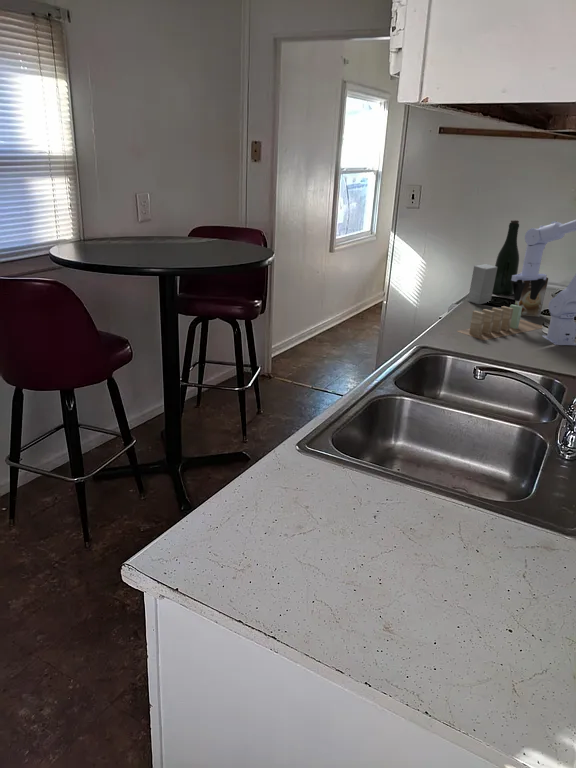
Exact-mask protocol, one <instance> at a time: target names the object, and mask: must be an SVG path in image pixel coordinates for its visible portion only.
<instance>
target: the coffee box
mask: <svg viewBox="0 0 576 768" xmlns="http://www.w3.org/2000/svg"><path fill="white" fill-rule="evenodd" d="M543 281H546V284H545V285H544V286H543V287H542V289H541V290H540V292H539V293H538V295H537V298H536V300H532V299H530V293H531V280H525V281H522V282H523V283H526V285H525V286H524V289H523V291H522V294H521V298H520V301H516V300H514V301H515V303H514V305H517V306H520V307H522V311H521V316H522V317H536V318H540V317H541V316H542V315H541V313H542V309H543V305H544V300H545V296H546V293H547V292H546V291H547V287H548V282H549V277H547V276H546V280H543ZM521 316H520V317H521Z"/></svg>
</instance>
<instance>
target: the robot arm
mask: <svg viewBox="0 0 576 768" xmlns="http://www.w3.org/2000/svg"><path fill="white" fill-rule="evenodd" d="M575 232H576V219H574V220H571V221H568V222H565V223H562V222H560V221H557V220H556V221H555V220H554V221H551V222H550V224H547V225H539V228H535V227H531V228H529V229H528V230H527V231H526V232H525V233H524V234H525V235H524V241H525V243H526V249H525V252H524V253H525V254H524V258H523V262H522V263H523V265H522V269H521V272H519V274H518V273H517V275H512V279H511V284H512V287H513V292H514V294H513V299H514V301H520V298H521V294H522V291H523V289H524V286H525V285H526V283H523V282H522V281H525V280H531V293H530V299H532V300H536V298H537V295H538V293H539V292H540V290H541V289H542V287H543V286H544V285H545V284H546V281H543V280H546V277H547V276H548V275H547V274H546V273H540V269H541V264H542V263H541V262H542V259H543V253H544V250H545V249H546V245H547V244H548V243H551V242H554V241H557V240H561V239H563V238H564V237H565V235H566V234H571V233H575ZM547 307H548V311H549V315H550V321H549V323H548V324H549V325H548V330H547V335H542V337H543V338H544V339H546V340H547V341H549V342H551V343H552V344H553V345H555V346H576V342H575V340H576V322H575V317H576V273H575V275H574V276H573V277H572V279H571V280H570V282H569V283H568V285H567V286H566V288H563V290H561V291H559V292H558V293H557V294H556V295H555V297H553V298H551V299H550V301H549V302H548V306H547Z"/></svg>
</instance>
